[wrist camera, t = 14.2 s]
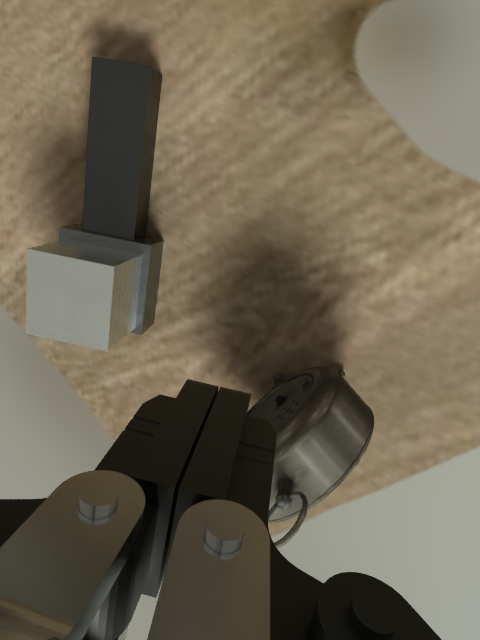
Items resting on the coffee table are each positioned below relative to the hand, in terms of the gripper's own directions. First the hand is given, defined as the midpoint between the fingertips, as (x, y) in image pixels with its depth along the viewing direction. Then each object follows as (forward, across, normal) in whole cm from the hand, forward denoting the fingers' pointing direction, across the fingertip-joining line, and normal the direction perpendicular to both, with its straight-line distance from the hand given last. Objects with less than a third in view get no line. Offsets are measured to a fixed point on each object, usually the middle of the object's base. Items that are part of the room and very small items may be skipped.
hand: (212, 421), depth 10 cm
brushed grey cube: (+22, +12, +4) cm, 25 cm away
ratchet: (+25, +12, -2) cm, 28 cm away
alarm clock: (+25, -4, +11) cm, 27 cm away
